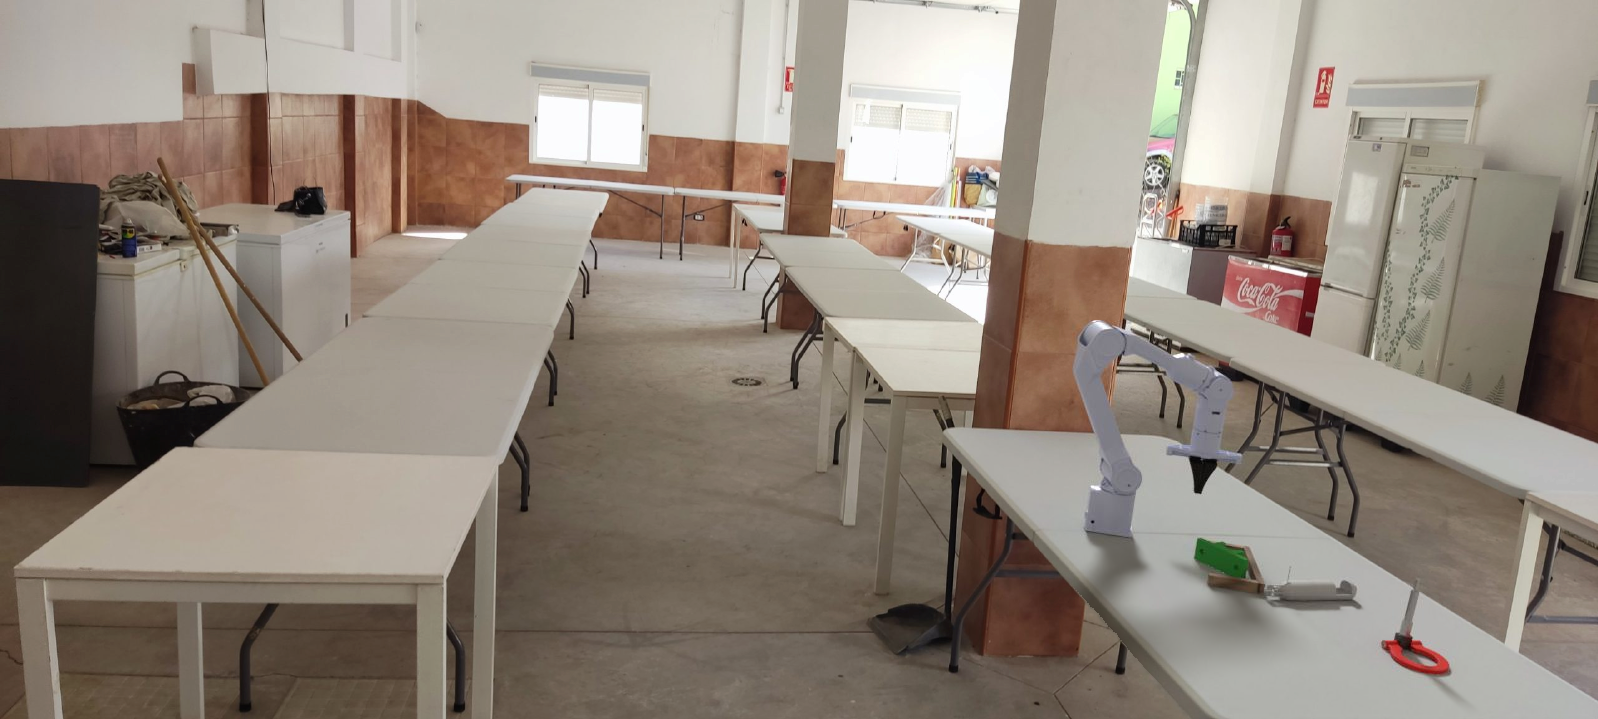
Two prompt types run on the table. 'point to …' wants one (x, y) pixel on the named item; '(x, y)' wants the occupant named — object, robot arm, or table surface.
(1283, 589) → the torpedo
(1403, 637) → the tow hook
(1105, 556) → the table surface
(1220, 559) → the pipe clamp
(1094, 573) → the table surface
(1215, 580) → the walnut bay
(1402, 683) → the table surface
